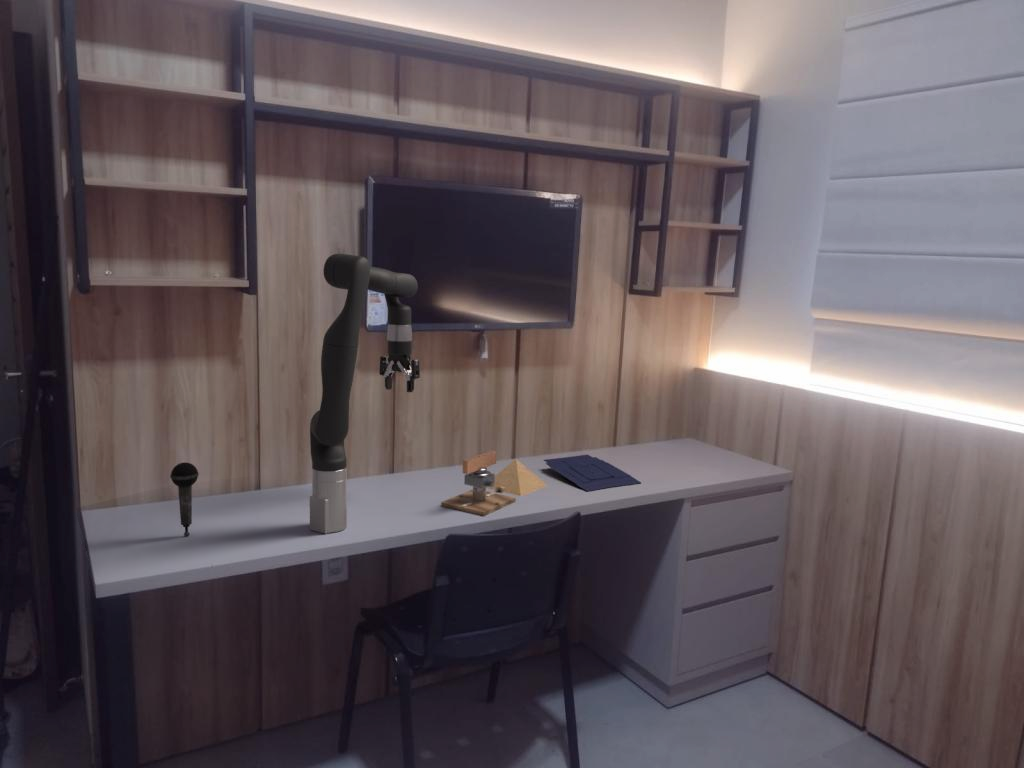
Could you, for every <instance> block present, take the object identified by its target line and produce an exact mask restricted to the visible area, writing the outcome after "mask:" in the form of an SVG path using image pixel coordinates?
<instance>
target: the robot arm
mask: <svg viewBox="0 0 1024 768" xmlns="http://www.w3.org/2000/svg"><path fill="white" fill-rule="evenodd" d="M325 260H326V261H325V262H324V264H323V270H322V271H323V278H324V280H325V281H326V283H327V284H328V285H330V286H331V287H334V288H335V289H340V290H341V289H342V290H347V293H346V298H345V302H344V304H343V307H342V310H341V311H340V313H338V316H337V317H336V318H335V319H334V321H333V322H332V323H331V324H330V326H329V328H328V329H327V330H326V332H325V334H324V336H323V341H322V348H321V357H320V372H321V384H322V385H321V387H322V395H321V396H322V397H321V401H320V407H319V410H317V411H316V412H315V413H314V414H313V416H312V418H311V420H310V423H309V441H310V442H309V443H310V444H309V445H310V457H311V470H312V471H311V474H312V475H311V477H312V478H311V483H312V485H311V486H312V487H311V488H312V489H311V491H312V493H311V494H312V495H310V496H309V530H312V531H315V532H318V533H321V534H328V533H329V534H330V533H336V532H337V533H338V532H340V531H344V530H346V528H347V526H348V522H347V519H348V518H347V517H348V515H347V514H348V513H347V512H348V509H347V505H348V504H347V503H348V502H347V501H348V500H347V499H348V498H347V497H348V495H347V494H348V492H347V489H348V488H347V484H348V483H347V481H348V480H347V479H348V478H347V474H348V473H347V472H348V471H347V470H348V468H347V467H348V465H347V462H348V460H347V455H346V450H345V449H346V448H345V440H346V438H347V436H348V434H349V428H350V424H349V423H350V399H351V398H350V397H351V390H352V387H353V381H354V375H355V368H356V364H357V356H358V349H359V342H360V341H359V340H360V330H361V323H362V317H363V312H364V307H365V303H366V302H365V301H366V298H367V294H368V290H369V291H371V292H376V293H380V294H383V295H384V298H385V303H386V307H387V313H388V314H387V320H388V322H387V323H388V326H387V333H386V334H387V337H386V339H387V340H386V341H387V343H386V344H387V346H386V348H387V349H386V351H387V352H386V353H387V355H383V356H380V357H379V371H378V372H379V375H380V376H383V377H384V388H385V389H386V390H387V391H388V390H393V377H392V376H393V374H394V373H395V372H398V373H402V374H403V375H404V376H405V379H407V380H406V392H407V393H413V392H414V390H415V380H418V379H419V378H420V377H421V376H420V375H421V374H420V373H421V372H420V359H418V358H416V359H411V357H412V356H411V355H412V354H413V352H412V350H413V349H412V347H413V331H412V308H411V306H409V305H407V304H402V303H401V302H400V300H399V298H411V297H413V296H415V295H416V294H417V292H418V288H419V284H418V281H417V279H416V278H415V277H414V275H412V274H410V273H402V272H397V271H396V272H394V271H391V270H389V269H386V268H382V267H375V266H370V262H369V260H368V259H367V258H366V257H365V256H361V255H354V254H346V253H334V254H332V255H329V256H328V257H327V258H326V259H325Z"/></svg>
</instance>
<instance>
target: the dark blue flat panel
mask: <svg viewBox="0 0 1024 768" xmlns="http://www.w3.org/2000/svg"><path fill="white" fill-rule="evenodd" d="M543 461H544V462H545V465H547V466H548V467H549V468H550V469H552V470H553V471H555V472H557V473H558V474H560V475H562V477H564V478H566V479H568V480H569V481H571V482H572V483H574V484H575V485H576V486H578V487H579V488H582V489H583V490H584V491H586V492H589V491H595V490H602V489H606V488H612V487H620V486H629V485H634V484H642V482H641V481H639V480H637V479H636V478H635V477H634V476H632V475H630V474H629V473H627V472H625V471H623V470H622V469H621V468H618V467H616V466H614V465H613V464H611V463H609V462H606V461H605V460H603V459H600V458H598V457H597V456H595V457H594V456H591V455H589V454H581V455H573V456H566V457H557V458H549V459H548V458H547V459H543Z"/></svg>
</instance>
